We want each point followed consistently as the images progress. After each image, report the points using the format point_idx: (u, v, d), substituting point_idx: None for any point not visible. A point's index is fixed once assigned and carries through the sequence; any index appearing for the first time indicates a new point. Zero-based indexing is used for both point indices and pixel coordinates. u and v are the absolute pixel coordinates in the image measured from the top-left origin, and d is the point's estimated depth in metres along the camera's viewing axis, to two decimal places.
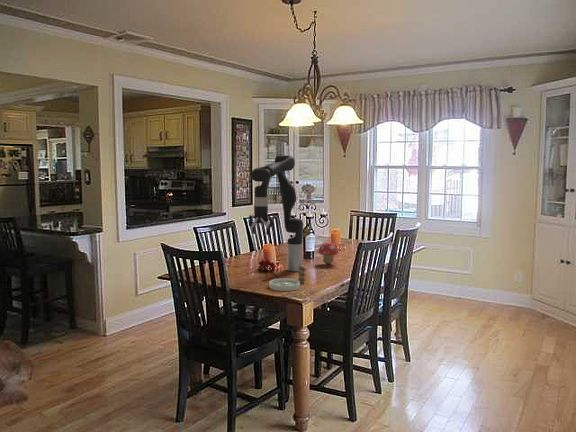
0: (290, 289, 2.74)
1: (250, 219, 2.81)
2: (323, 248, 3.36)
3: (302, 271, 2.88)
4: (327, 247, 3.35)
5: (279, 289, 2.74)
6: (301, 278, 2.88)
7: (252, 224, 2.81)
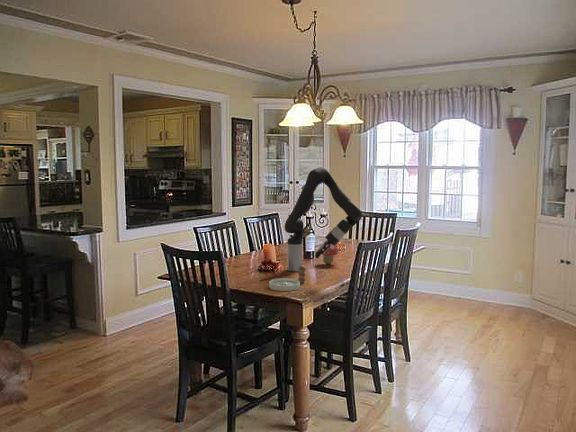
0: (290, 289, 2.74)
1: (327, 248, 2.81)
2: None
3: (302, 271, 2.88)
4: None
5: (279, 289, 2.74)
6: (301, 278, 2.88)
7: (323, 252, 2.83)
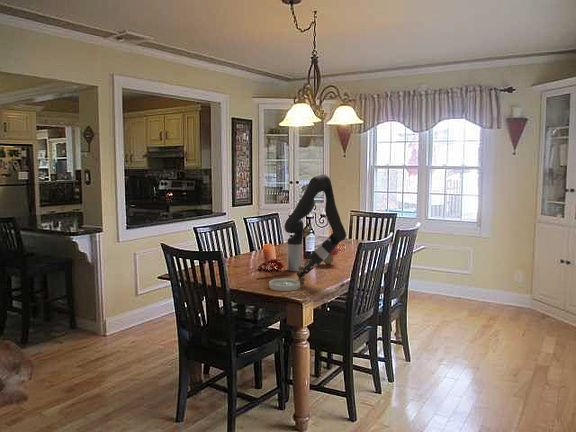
0: (290, 289, 2.74)
1: (310, 269, 2.85)
2: None
3: None
4: None
5: (279, 289, 2.74)
6: (301, 278, 2.88)
7: None
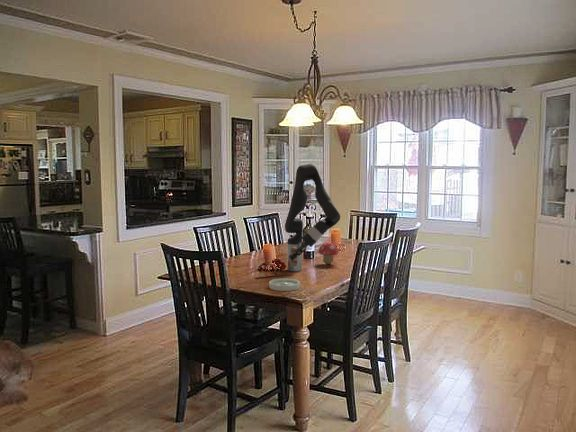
0: (290, 289, 2.74)
1: (303, 251, 2.76)
2: (323, 248, 3.36)
3: (294, 253, 2.79)
4: (327, 247, 3.35)
5: (279, 289, 2.74)
6: (293, 260, 2.79)
7: None
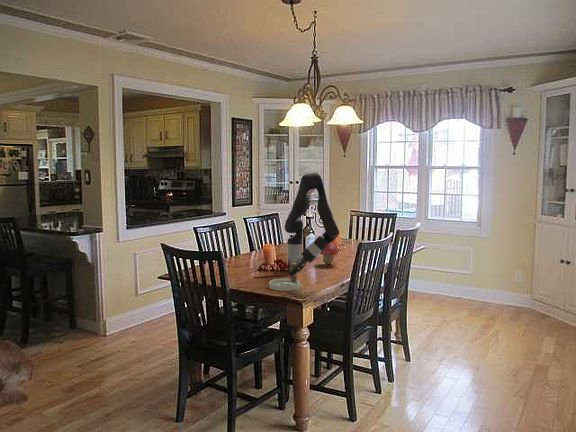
0: (290, 289, 2.74)
1: (302, 267, 2.77)
2: None
3: None
4: (327, 247, 3.35)
5: (279, 289, 2.74)
6: (293, 276, 2.80)
7: None
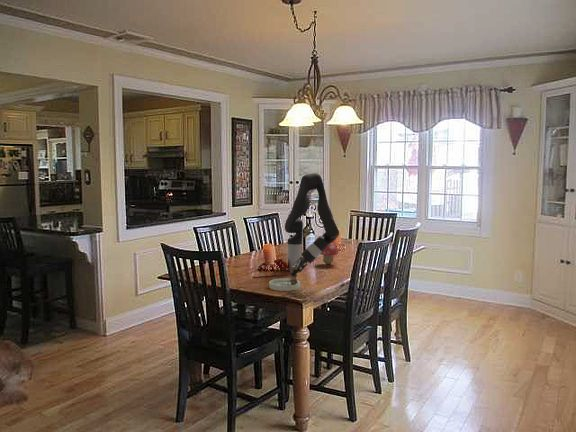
0: (290, 289, 2.74)
1: None
2: None
3: None
4: (327, 247, 3.35)
5: (279, 289, 2.74)
6: (293, 279, 2.81)
7: None
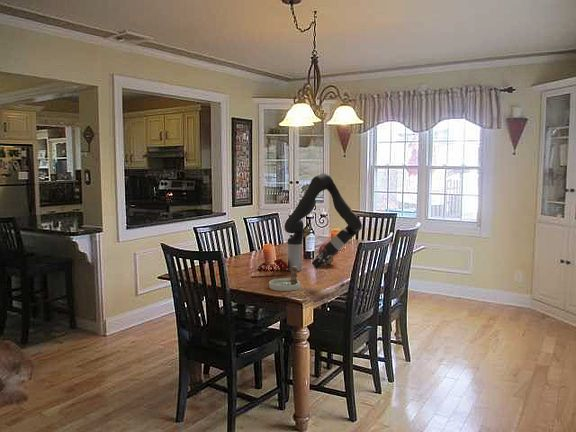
0: (290, 289, 2.74)
1: (327, 259, 2.77)
2: (323, 248, 3.36)
3: (294, 272, 2.80)
4: None
5: (279, 289, 2.74)
6: (293, 279, 2.81)
7: None
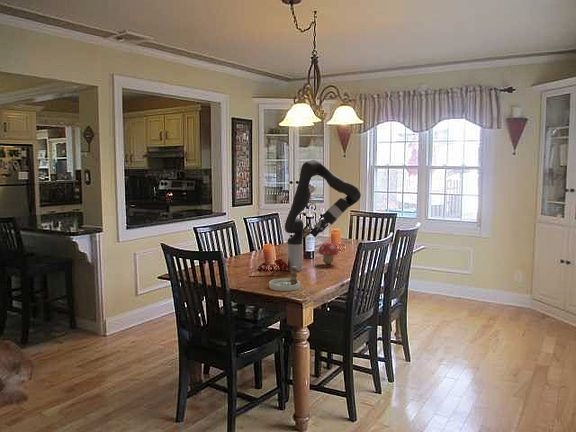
0: (290, 289, 2.74)
1: (325, 227, 2.77)
2: (323, 248, 3.36)
3: (294, 272, 2.80)
4: (327, 247, 3.35)
5: (279, 289, 2.74)
6: (293, 279, 2.81)
7: None
